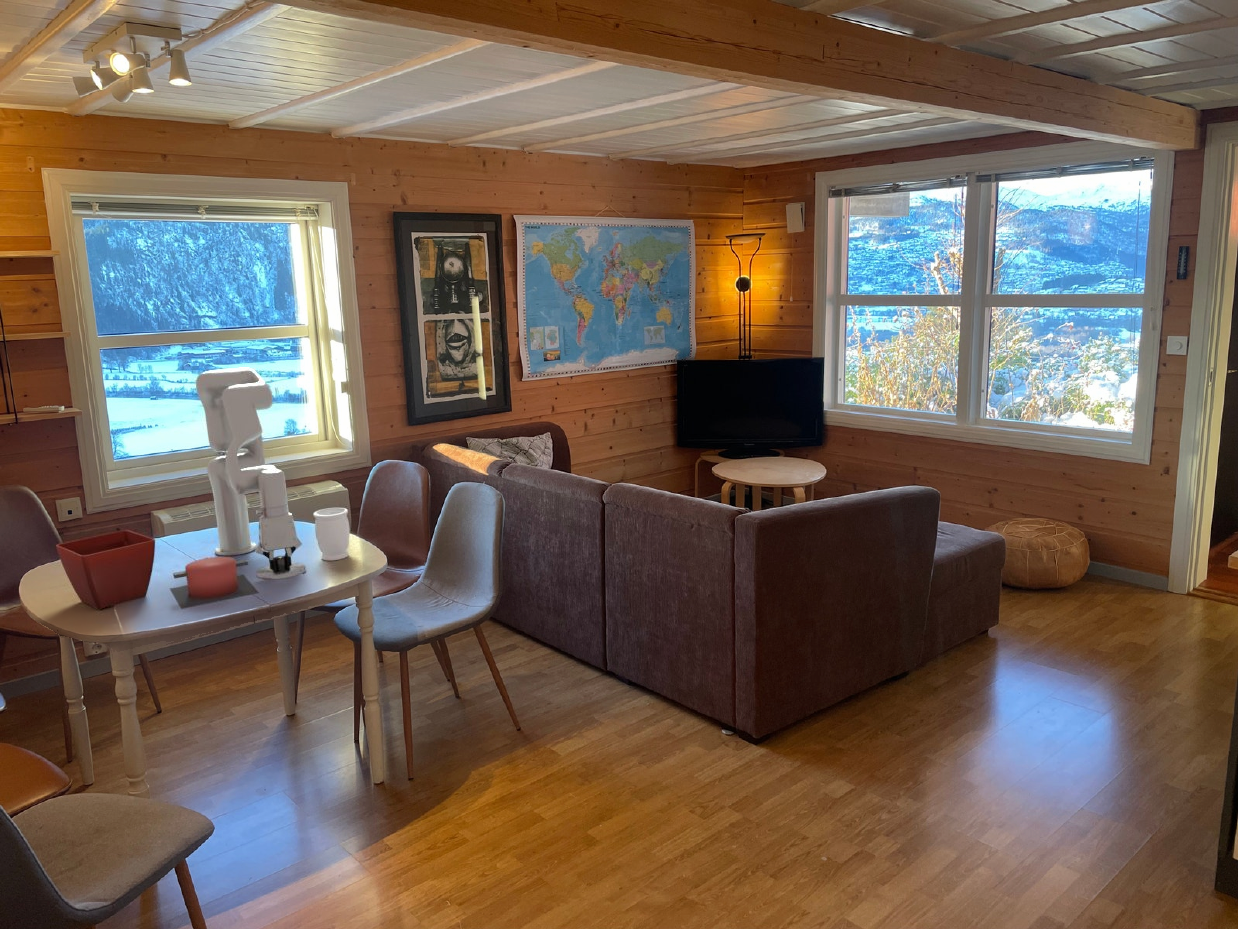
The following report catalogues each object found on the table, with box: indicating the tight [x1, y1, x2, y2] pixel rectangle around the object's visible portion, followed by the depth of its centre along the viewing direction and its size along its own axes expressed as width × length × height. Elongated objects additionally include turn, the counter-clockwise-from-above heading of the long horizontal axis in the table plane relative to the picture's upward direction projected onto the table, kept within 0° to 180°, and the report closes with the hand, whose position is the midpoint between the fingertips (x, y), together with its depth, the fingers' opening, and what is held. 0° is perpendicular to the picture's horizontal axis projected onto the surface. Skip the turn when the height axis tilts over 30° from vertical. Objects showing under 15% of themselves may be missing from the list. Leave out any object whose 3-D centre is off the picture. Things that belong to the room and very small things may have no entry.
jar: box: [313, 507, 351, 561], centre depth 286 cm, size 11×10×15 cm
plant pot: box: [55, 529, 156, 610], centre depth 252 cm, size 19×19×17 cm
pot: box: [172, 556, 249, 599], centre depth 256 cm, size 13×19×8 cm
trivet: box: [169, 574, 259, 610], centre depth 257 cm, size 20×20×1 cm
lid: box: [256, 555, 307, 580], centre depth 272 cm, size 14×14×5 cm
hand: (281, 569), depth 272 cm, fingers closed on lid, 3 cm apart
